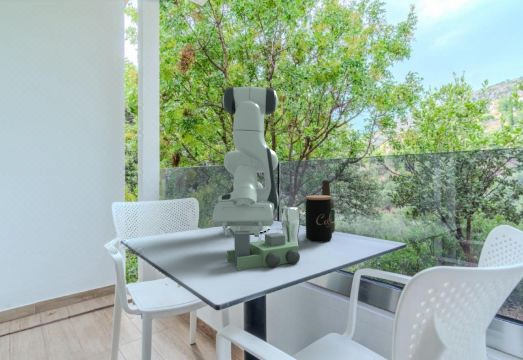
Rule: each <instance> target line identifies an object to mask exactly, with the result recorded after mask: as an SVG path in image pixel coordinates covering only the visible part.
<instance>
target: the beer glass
mask: <svg viewBox="0 0 523 360" xmlns="http://www.w3.org/2000/svg"><path fill="white" fill-rule="evenodd" d="M280 217H281V229H282V233H283V235H285V241H287V242H289V243H292V244H294V245H297V246H298V249H300V243H299V233H300V226H301V225H300V223H301V215H300V207H298V206H283V207H281V215H280Z"/></svg>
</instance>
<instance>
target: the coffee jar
mask: <svg viewBox="0 0 523 360" xmlns="http://www.w3.org/2000/svg"><path fill="white" fill-rule="evenodd" d="M331 198H332V195H331V196H326V195H322V194H319V195H315V194H313V195H306V196H305V200H306V201H305V237H306V239H307V241H310V242H314V243H327V242H330V241H331V239H333V238H332V237H333V232H332V203H331V201H330V200H331Z"/></svg>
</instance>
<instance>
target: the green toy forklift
mask: <svg viewBox="0 0 523 360" xmlns="http://www.w3.org/2000/svg"><path fill="white" fill-rule="evenodd" d="M298 249H299V248H298V246H297V245H294V244H292V243H289V242H287V241H285V235H284V234H282V233H280V232H274V233H273V232H272V233H264V240H257V241H250V256H244V257H237V266H236V270H238V271H243V270H247V269H248V270H249V269H253V268H259V267H263V268H266V267H271V268H277V267H278V266H280V265H284V264H291V265H296V264H298V263H299V262H300V258H301V255H300V253H299V250H298ZM226 262H227V263H232V262H235V249H230V250H229V249H228V250H226Z"/></svg>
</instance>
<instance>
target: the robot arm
mask: <svg viewBox="0 0 523 360" xmlns="http://www.w3.org/2000/svg"><path fill="white" fill-rule="evenodd" d="M278 104H279V98H278V94H277V91H276V90H275V89H274V88H270V87H260V86H238V87H237V86H236V87H235V86H231V87H227V88H226V89H225V90H224V92H223V96H222V105H223V107H224V111H225V112H226V113H228V114H230V115H231V116H232V117H233V116H234V117H233V125H232V141H233V145H234V148H235V150H229V151H227V152H226V154H225V155H224V158H223V165H224V167H225V170H226V171H227V172H228V173H230V174H231V175H232V176H233V181H232V185H231V187H230V192H229V193H225V194H221V195H219V196H218V198H217V199H218V203H216V204H215V206H214V208H213V211H212V218H211V220H212V221H211V222H212V224H213V226H215V227H222V230H223V231H224V237H225V238H230V237H231V231H232V232H233V234H235V232H236V231H250V235H252V234H254V237H255V238H259V237H260V234H261V233H260V231H265V230H267V229H270V230H271V227H272V226H273V224H274V213H273V212H275V211H276V210H277V209H278V207H279V204H280V203H279V201H280V199H279V194H278V192H277V186H276V176H275V172H274V171H275V170H276V169H277V168H278V165H279V158H278V157H279V156H278V154H277V153H276V152H275V151H274V150H272V149H271V148H270V146H269V145H267V143H266V139H265V129H264V128H265V127H264V126H265V115H266V116H268V115H272V114H274V113H275V112H276V109H277V108H278ZM259 173H263V178H264V186H263V184H262V183H261V182H260V181H258V175H257V174H259ZM228 227H229V229H228Z"/></svg>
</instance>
